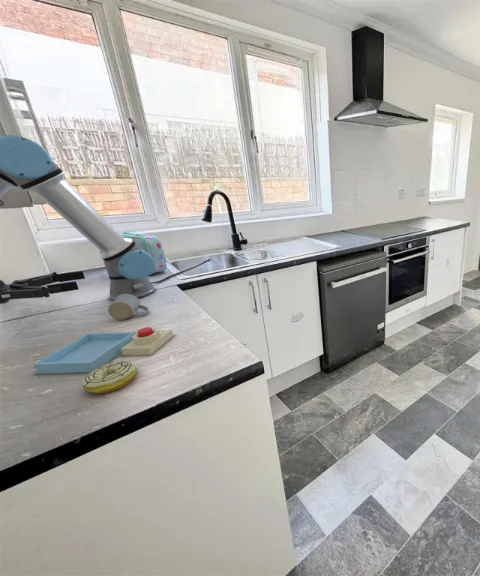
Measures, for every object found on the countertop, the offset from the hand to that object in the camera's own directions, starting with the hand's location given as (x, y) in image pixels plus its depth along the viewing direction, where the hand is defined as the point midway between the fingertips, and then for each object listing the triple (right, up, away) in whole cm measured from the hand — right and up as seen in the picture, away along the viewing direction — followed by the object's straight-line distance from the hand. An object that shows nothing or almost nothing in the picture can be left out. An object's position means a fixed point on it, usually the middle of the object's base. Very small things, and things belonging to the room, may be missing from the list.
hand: (80, 279), depth 104 cm
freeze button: (+30, -17, -10) cm, 36 cm away
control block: (+30, -20, -9) cm, 37 cm away
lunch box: (-26, +5, +61) cm, 66 cm away
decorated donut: (+34, -27, -25) cm, 50 cm away
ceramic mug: (+8, -13, +11) cm, 19 cm away
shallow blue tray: (+17, -22, -14) cm, 31 cm away
